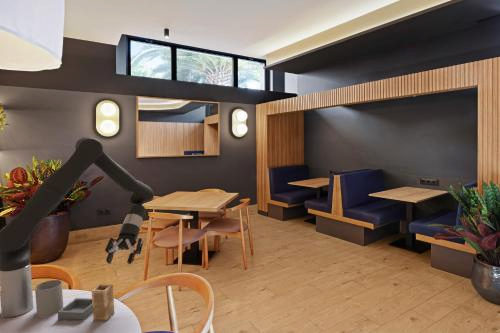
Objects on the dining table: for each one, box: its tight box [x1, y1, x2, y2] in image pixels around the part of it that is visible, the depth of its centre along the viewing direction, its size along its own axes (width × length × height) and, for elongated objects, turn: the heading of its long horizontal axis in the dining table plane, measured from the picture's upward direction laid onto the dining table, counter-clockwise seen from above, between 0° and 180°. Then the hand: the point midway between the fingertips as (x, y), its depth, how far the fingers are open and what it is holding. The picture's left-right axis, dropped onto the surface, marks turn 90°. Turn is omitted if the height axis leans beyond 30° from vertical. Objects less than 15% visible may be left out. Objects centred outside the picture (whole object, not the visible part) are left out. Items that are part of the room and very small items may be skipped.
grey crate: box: [57, 297, 93, 322], centre depth 110 cm, size 10×10×3 cm
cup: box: [34, 279, 64, 318], centre depth 112 cm, size 8×8×10 cm
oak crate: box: [91, 283, 115, 322], centre depth 107 cm, size 5×5×11 cm
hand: (118, 263), depth 117 cm, fingers open, 8 cm apart
